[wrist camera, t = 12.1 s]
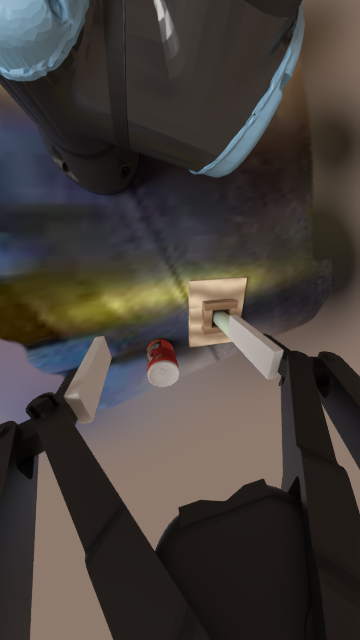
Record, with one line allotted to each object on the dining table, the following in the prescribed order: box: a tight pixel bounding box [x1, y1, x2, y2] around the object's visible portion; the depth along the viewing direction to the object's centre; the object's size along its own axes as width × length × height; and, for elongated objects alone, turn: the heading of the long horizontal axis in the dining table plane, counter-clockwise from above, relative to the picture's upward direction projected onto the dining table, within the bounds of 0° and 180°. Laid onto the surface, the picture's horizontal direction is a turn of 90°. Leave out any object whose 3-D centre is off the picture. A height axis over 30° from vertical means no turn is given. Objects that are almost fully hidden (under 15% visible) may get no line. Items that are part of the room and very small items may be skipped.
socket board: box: [189, 277, 247, 347], centre depth 44 cm, size 20×16×4 cm
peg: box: [212, 310, 230, 336], centre depth 40 cm, size 4×4×14 cm
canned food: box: [147, 339, 180, 387], centre depth 42 cm, size 8×8×11 cm
